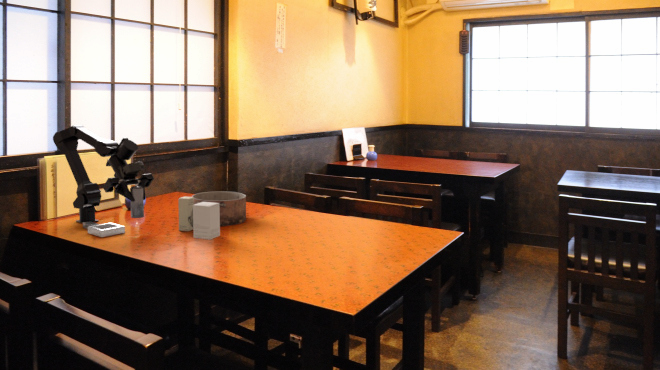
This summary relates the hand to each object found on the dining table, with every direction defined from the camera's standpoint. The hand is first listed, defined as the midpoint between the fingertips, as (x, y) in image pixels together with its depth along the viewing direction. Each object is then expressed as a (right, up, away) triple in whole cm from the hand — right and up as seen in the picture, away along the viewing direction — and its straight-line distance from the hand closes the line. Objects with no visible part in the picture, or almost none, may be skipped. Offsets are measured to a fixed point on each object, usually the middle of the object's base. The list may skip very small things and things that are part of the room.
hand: (139, 200), depth 201 cm
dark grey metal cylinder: (-1, -6, +2) cm, 7 cm away
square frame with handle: (-17, -12, +4) cm, 21 cm away
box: (+15, -12, +9) cm, 22 cm away
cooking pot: (+24, -10, +27) cm, 38 cm away
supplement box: (+25, -14, -1) cm, 29 cm away
